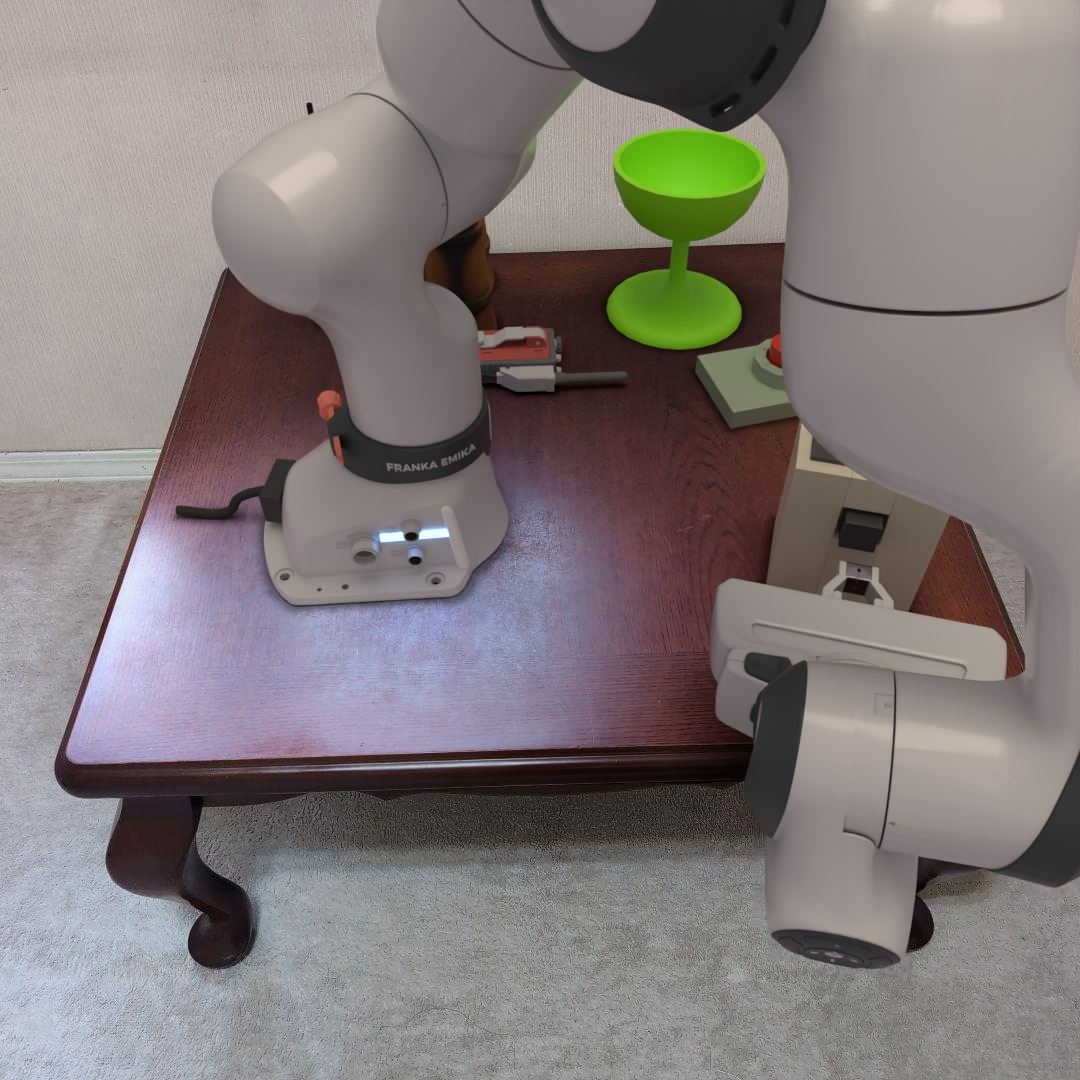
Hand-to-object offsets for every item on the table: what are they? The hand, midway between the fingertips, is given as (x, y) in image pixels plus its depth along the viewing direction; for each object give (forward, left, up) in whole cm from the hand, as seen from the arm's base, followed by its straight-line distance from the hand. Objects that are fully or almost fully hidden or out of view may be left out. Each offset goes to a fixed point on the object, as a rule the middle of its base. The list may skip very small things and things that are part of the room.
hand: (856, 569), depth 72 cm
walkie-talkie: (-15, +42, -9) cm, 46 cm away
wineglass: (+4, +49, -9) cm, 50 cm away
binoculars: (-20, +57, -9) cm, 61 cm away
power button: (+2, +4, -1) cm, 4 cm away
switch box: (+8, +32, -9) cm, 35 cm away
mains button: (+10, +32, -5) cm, 34 cm away
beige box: (+4, +7, -9) cm, 12 cm away
